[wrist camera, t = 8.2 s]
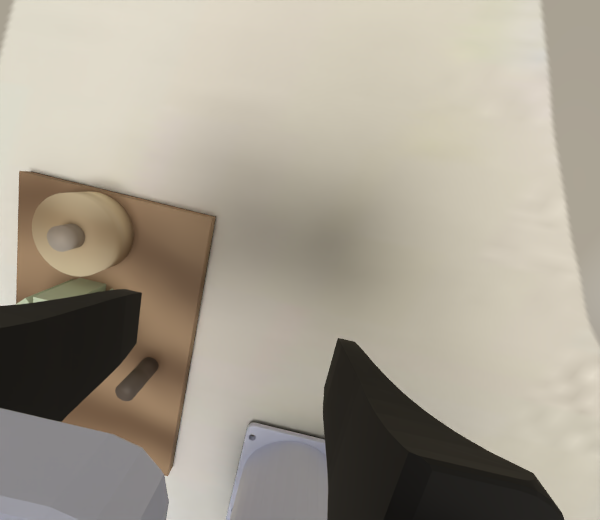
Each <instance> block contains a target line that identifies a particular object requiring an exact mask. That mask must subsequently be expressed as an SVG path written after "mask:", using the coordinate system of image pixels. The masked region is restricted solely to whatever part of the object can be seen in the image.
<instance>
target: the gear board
mask: <svg viewBox="0 0 600 520" xmlns="http://www.w3.org/2000/svg"><path fill="white" fill-rule="evenodd" d="M215 218H216V217H214V216H210V215H206V214H202V213H198V212H194V211H189V210H185V209H181V208H177V207H173V206H169V205H165V204H161V203H157V202H153V201H149V200H145V199H140V198H136V197H132V196H128V195H124V194H120V193H116V192H112V191H108V190H104V189H100V188H96V187H91V186H87V185H83V184H79V183H75V182H71V181H67V180H63V179H59V178H55V177H51V176H47V175H43V174H38V173H34V172H28V171H19V207H18V251H17V294H16V304H17V303H19V302H20V301H22V300H23V299H24V298H26V297H29V296H31V295H34V294H36V293H39V292H41V291H44V290H46V289H49V288H51V287H54V286H56V285H59V284H61V283H64V282H66V281H69V280H71V279H74V280H75V279H78V278H83V279H87V280H91V281H96V282H100V283H104V284H106V291H108V290H110V289H112V288H113V289H114V290H116V289H128V290H132V291H136V292H141V293H142V298H141V307H140V316H139V325H138V334H137V343H136V345H135V346H134V348H133V349H132V350H131V352H130V353H129V354H128V356H127V357H126V358H125V359H124V360H123V362H122V363H121V364H120V365H119V366H118V367H117V368H116V369H115V370H114V371H113V372H112V373H111V374H110V375H109V376H108V377H107V378H106V379H105V380H104V381H103V382H102V383H101V384H100V385H99V386H98V387H97V388H96V389H95V390H94V391H93V392H91V393H90V394H89V395H88V396H87V397H86V398H85V399H84V400H83V401H82V402H81V403H80V404H79V405H78V406H77V407H76V408H75V409H74V410H73V411H72V412H70V413H69V414H68V415H67V416H66V418H65V419H64V420H63V421H62V422H63V423H67V424H72V425H76V426H80V427H85V428H89V429H93V430H97V431H102V432H106V433H110V434H114V435H116V436H118V437H121V438H123V439H125V440H127V441H129V442H131V443H133V444H136V445H138V446H140V447H142V448H143V449H144V450H145V451H146V453H147V454H148V455H149V456H150V457H151V459H152V460H153V461H154V462H155V463H156V464H157V466H158V467H159V468H160V469H161V470H162V472H163V474H164V475H166V476H168V475H169V473H170V471H171V469H172V466H173V461H174V455H175V449H176V443H177V437H178V432H179V426H180V420H181V414H182V409H183V403H184V397H185V391H186V385H187V380H188V374H189V368H190V362H191V357H192V351H193V345H194V339H195V334H196V328H197V322H198V316H199V310H200V305H201V299H202V293H203V287H204V282H205V276H206V270H207V264H208V259H209V253H210V247H211V241H212V235H213V230H214V224H215Z"/></svg>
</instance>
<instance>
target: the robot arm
mask: <svg viewBox="0 0 600 520" xmlns="http://www.w3.org/2000/svg"><path fill="white" fill-rule="evenodd" d="M141 298H142V293H141V292H136V291H132V290H128V289H116V290H108V291H102V292H96V293H90V294H84V295H79V296H73V297H67V298H61V299H54V300H48V301H41V302H34V303H27V304H18V305H8V306H0V520H166V516H167V510H168V503H169V501H168V495H167V489H166V483H165V477H164V474H163V472H162V470H161V469H160V468H159V467H158V466H157V464H156V463H155V462H154V461H153V460H152V459H151V457H150V456H149V455H148V454H147V453H146V451H145V450H144V449H143V448H142V447H140V446H138V445H136V444H133V443H131V442H129V441H127V440H125V439H123V438H121V437H118V436H116V435H114V434H110V433H106V432H102V431H97V430H93V429H89V428H85V427H80V426H76V425H72V424H67V423H63V422H62V421H63V420H64V419H65V418H66V416H67V415H68V414H69V413H70V412H72V411H73V410H74V409H75V408H76V407H77V406H78V405H79V404H80V403H81V402H82V401H83V400H84V399H85V398H86V397H87V396H88V395H89V394H90V393H91V392H93V391H94V390H95V389H96V388H97V387H98V386H99V385H100V384H101V383H102V382H103V381H104V380H105V379H106V378H107V377H108V376H109V375H110V374H111V373H112V372H113V371H114V370H115V369H116V368H117V367H118V366H119V365H120V364H121V363H122V362H123V360H124V359H125V358H126V357H127V356H128V354H129V353H130V352H131V350H132V349H133V348H134V346H135V345H136V343H137V334H138V325H139V316H140V307H141ZM323 421H324V434H325V440H324V439H320V438H316V437H312V436H308V435H304V434H300V433H296V432H292V431H288V430H283V429H279V428H275V427H271V426H267V425H263V424H259V423H250V424H249V425H248V427H247V431H246V435H245V440H244V444H243V448H242V452H241V457H240V461H239V465H238V469H237V474H236V478H235V482H234V486H233V491H232V495H231V499H230V503H229V508H228V512H227V516H226V520H564V517H563V515H562V512H561V511H560V510H559V508H558V507H557V505H556V504H555V503H554V501H553V500H552V499H551V497H550V496H549V494H548V493H547V492H546V490H545V489H544V487H543V486H542V485H541V483H540V482H539V480H538V479H537V478H536V476H535V475H534V474H533V473H532V472H530V471H528V470H526V469H524V468H521V467H519V466H517V465H515V464H513V463H511V462H509V461H507V460H505V459H503V458H501V457H499V456H497V455H495V454H493V453H491V452H489V451H487V450H485V449H484V448H482V447H480V446H478V445H477V444H475V443H473V442H471V441H470V440H468V439H466V438H464V437H463V436H461V435H460V434H458V433H456V432H455V431H453V430H452V429H450V428H449V427H447V426H446V425H444V424H443V423H441V422H440V421H438V420H437V419H435V418H434V417H433V416H431V415H430V414H428V413H427V412H426V411H424V410H423V409H422V408H421V407H419V406H418V405H417V404H416V403H414V402H413V401H412V400H411V399H410V398H408V397H407V396H406V395H405V394H404V393H403V392H402V391H400V390H399V389H398V388H397V387H396V386H395V385H394V384H393V383H392V382H391V381H390V380H389V379H388V378H387V377H386V376H385V375H384V374H383V373H382V372H381V371H380V369H379V368H378V367H377V366H376V365H375V364H374V363H373V362H372V361H371V359H370V358H369V357H368V356H367V355H366V354H365V352H364V351H363V350H362V349H361V348H360V347H359V346H358V345H357V344H356V343H355V342H353V341H348V340H344V339H340V338H338V340H337V343H336V347H335V351H334V354H333V358H332V361H331V365H330V369H329V372H328V376H327V379H326V383H325V387H324V401H323ZM251 434H252V435H255V436H251Z"/></svg>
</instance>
